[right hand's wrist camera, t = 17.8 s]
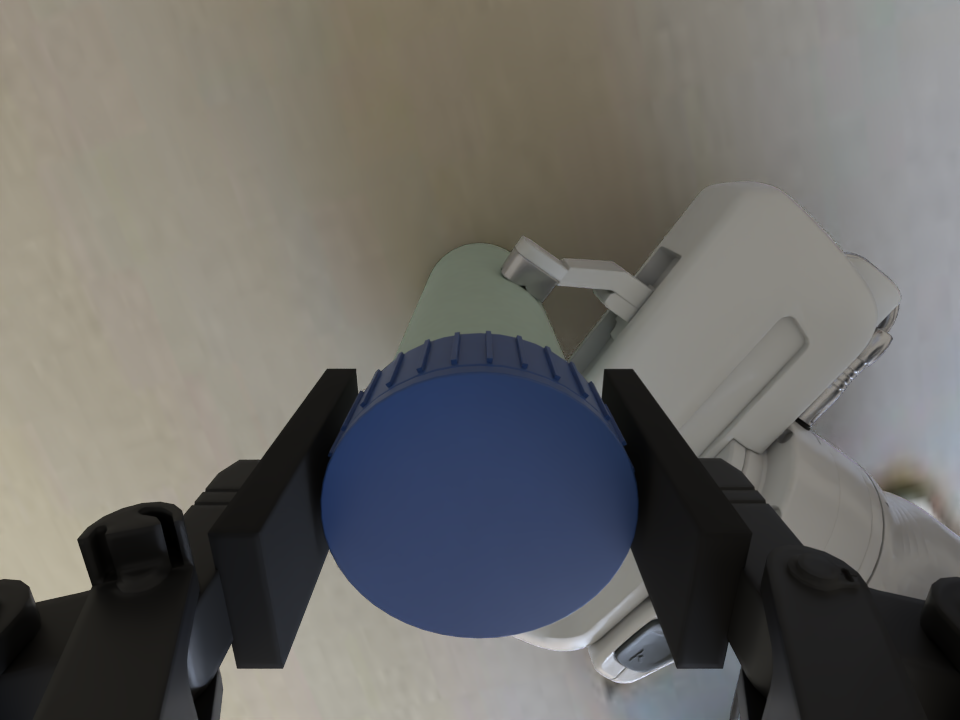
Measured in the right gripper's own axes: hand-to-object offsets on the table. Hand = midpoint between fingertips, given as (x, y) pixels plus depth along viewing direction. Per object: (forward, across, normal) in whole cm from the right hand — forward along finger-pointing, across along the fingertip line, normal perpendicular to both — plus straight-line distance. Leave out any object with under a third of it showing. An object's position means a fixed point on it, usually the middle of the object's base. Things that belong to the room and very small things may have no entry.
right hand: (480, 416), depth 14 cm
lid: (-4, 0, 0) cm, 4 cm away
